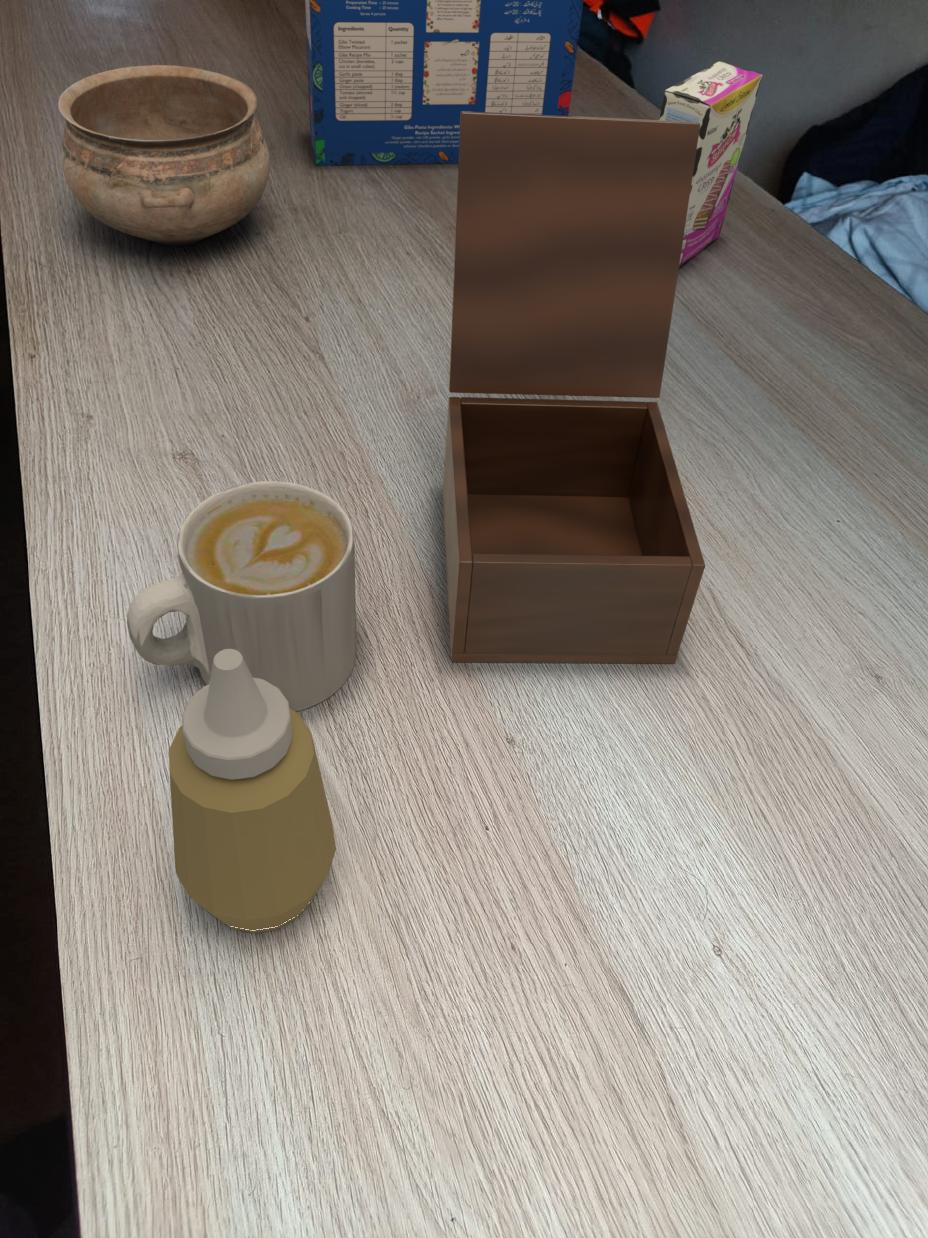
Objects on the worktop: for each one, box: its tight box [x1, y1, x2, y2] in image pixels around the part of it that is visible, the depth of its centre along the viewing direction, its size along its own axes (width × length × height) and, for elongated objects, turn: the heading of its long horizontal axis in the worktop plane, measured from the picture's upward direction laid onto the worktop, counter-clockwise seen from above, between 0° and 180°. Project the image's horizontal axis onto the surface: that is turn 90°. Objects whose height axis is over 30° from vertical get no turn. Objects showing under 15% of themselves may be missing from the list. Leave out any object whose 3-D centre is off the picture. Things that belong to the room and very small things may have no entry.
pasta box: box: [304, 0, 584, 167], centre depth 112 cm, size 28×8×28 cm, turn 100°
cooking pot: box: [57, 64, 270, 247], centre depth 101 cm, size 25×19×12 cm
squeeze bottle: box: [168, 649, 337, 934], centre depth 50 cm, size 8×8×18 cm
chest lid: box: [448, 111, 700, 399], centre depth 71 cm, size 17×15×4 cm
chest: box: [442, 396, 706, 664], centre depth 71 cm, size 17×15×9 cm
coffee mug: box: [126, 480, 357, 713], centre depth 64 cm, size 13×10×10 cm
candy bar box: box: [658, 61, 763, 268], centre depth 103 cm, size 11×5×16 cm, turn 144°
